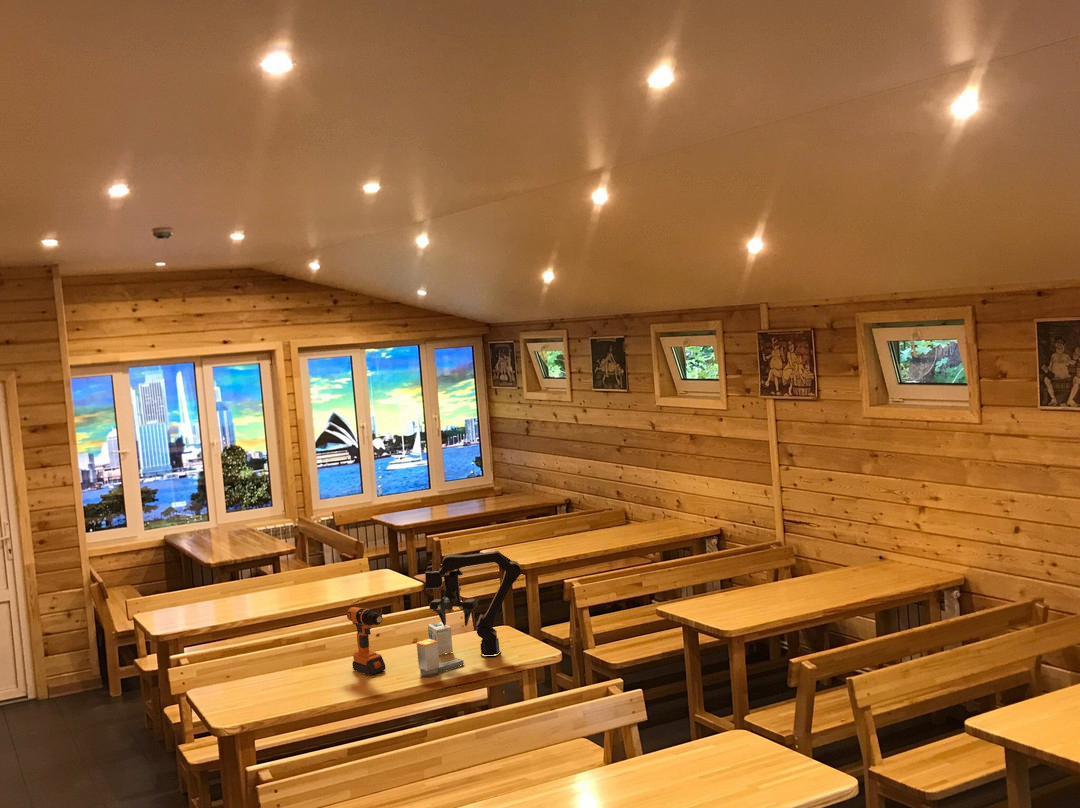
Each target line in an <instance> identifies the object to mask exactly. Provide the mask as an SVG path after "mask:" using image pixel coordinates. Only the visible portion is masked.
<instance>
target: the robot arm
mask: <svg viewBox="0 0 1080 808" xmlns="http://www.w3.org/2000/svg"><path fill="white" fill-rule="evenodd" d="M490 563H496V564H497V565H498V566H499V567H500V568H501V569H503V570H504V572H503V575H502V581H501V583H500V585H499V586H498V588H497V591H496V592H495V595H494V597H493V599H492V601H491V603H490V605H489V607H488V609H487V611H486V612H485V613H484V614H482V613H480V615H479V617H478V620H477V621H476V622H475V628H476V634H477V636H478V637H479V638H481V640H480V641H481V643H480V645H479V646H480V654H481V655H482V654H484V655H494V654H498V653H499V652H500V651H501V649H500V641H499V637H498V635H497V630H496V629H495V628H493V627H494V623H495V620H496V617H497V614H498V612H499V610H500V608H501V606H502V605H503V603H504V600H505V598H506V597H507V595H508V593H509V591H510V589H511V586H513V584H514V583H516V580H518V578H519V577H520V576H521V573H522V568H521V565H520V563H519V562H518V561H516V560H512V559H510V558H509V557H507V556H506V555H504V554H502V552H500V551H499V550H494V551H489V552H482V553H481V552H480V553H472V554H466V555H465V554H464V555H463V554H457V553H455V554H454V553H449V554H446V555H444V557H443V559H442V565H441V566H440V567H439V569H438V570H436V571H434V570H433V571H425V573H424V578H425V579H424V580H425V581H424V583H425V584H424V587H425V590H432V589H433V590H434V589H441V586H443V585H444V591H443V595H442V597H441V598H435V599H433V600H432V601H430V602H429V606H428V607H429V610H432V612H435V613H436V614H437V615H438V616H439V619H440V620H441V621H440V622H442V623H443V625H444V626H445V625H446V624H447V615H446V611H452V610H453V608H454V607H456V608H457V607H459V608H460V607H462V608H463V610H462V612H463V614H464V615H463V616H464V627H467V626H468V625H469V620H470V616H471V614H472V613H473V612H472V611H473V610H474V609H476V608H477V607H478V606H479V601H478V600H477V598H475V599H474V598H471V599H470V598H469V599H468V598H467V599H466V600H464V601H463V600H462V599H463V598H462V597H461V590H462V588H461V587H460V579H459V576H463V575H464V573H463V571H462V570H461V569H462V568H465V567H469V566H474V565H481V564H490Z"/></svg>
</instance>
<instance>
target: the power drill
mask: <svg viewBox="0 0 1080 808" xmlns="http://www.w3.org/2000/svg"><path fill="white" fill-rule="evenodd" d="M346 618H347V619H348V620H349V621H350V622H351V623H352V624H353V625H355V627H356V633H357V634H356V641H357V651H354V653H352V656H353V661H352V670H353V671H355V672H358V673H361V674H363V675H366V676H368V675H369V676H371V675H375V674H378V673H381V672H383V671H386V664H385V663H386V662H385V661H384V658H383V656H382V655H381V654H380V653H377V652H376V651H373V650H370V641H369V640H370V639H369V636H370V635H371V634H372V633H371V629H372V628H373V626H374V625H375V626H379V625H381V623H382V622H383V615H382V614H381V613H379V612H377V611H375V610H373V609H371V608H368V607H355V606H352V607H350V608H349V609H348V610H347V611H346Z"/></svg>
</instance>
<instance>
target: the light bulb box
mask: <svg viewBox="0 0 1080 808" xmlns="http://www.w3.org/2000/svg"><path fill="white" fill-rule="evenodd" d="M427 629H428V630H427V631H428V639H431V640H435V641H437V645H438V655H441V654H445V653H449V652H453V653H454V651H453V639H452V637H453V636H452V627H451V626H450V625H448V624H447V623H446V625H445V626H444V625H443V623H442V621H439V622H435V623H430V624H427ZM445 655H446V654H445ZM441 656H442V655H441Z"/></svg>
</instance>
